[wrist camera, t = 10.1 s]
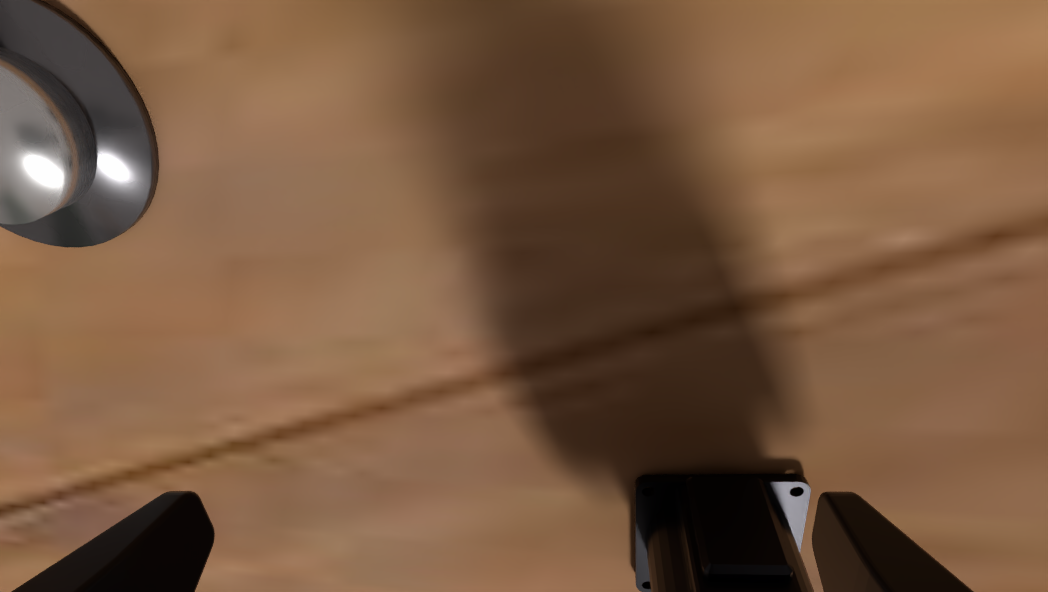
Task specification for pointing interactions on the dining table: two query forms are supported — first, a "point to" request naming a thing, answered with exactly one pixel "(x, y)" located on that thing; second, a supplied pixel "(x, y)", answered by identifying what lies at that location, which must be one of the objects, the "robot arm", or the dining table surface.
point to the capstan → (40, 143)
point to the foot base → (112, 113)
